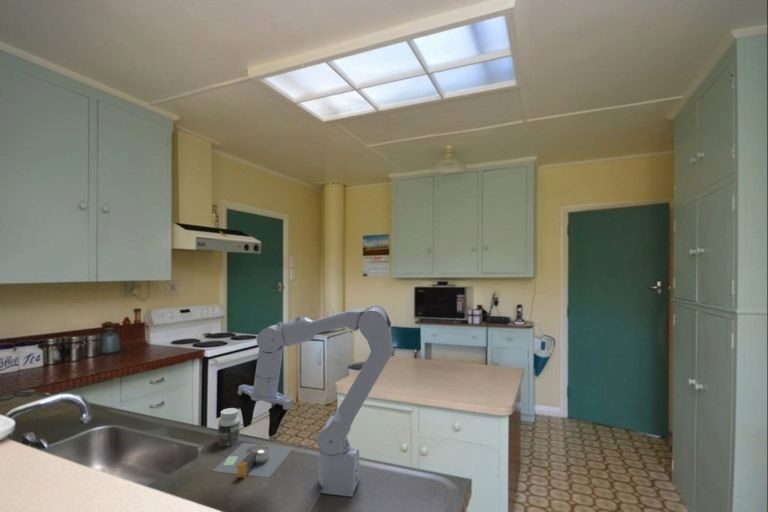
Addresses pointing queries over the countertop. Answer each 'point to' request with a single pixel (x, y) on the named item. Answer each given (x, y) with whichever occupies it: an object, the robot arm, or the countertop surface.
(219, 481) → the countertop surface
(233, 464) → the board
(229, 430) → the pill bottle
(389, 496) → the countertop surface
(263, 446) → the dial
